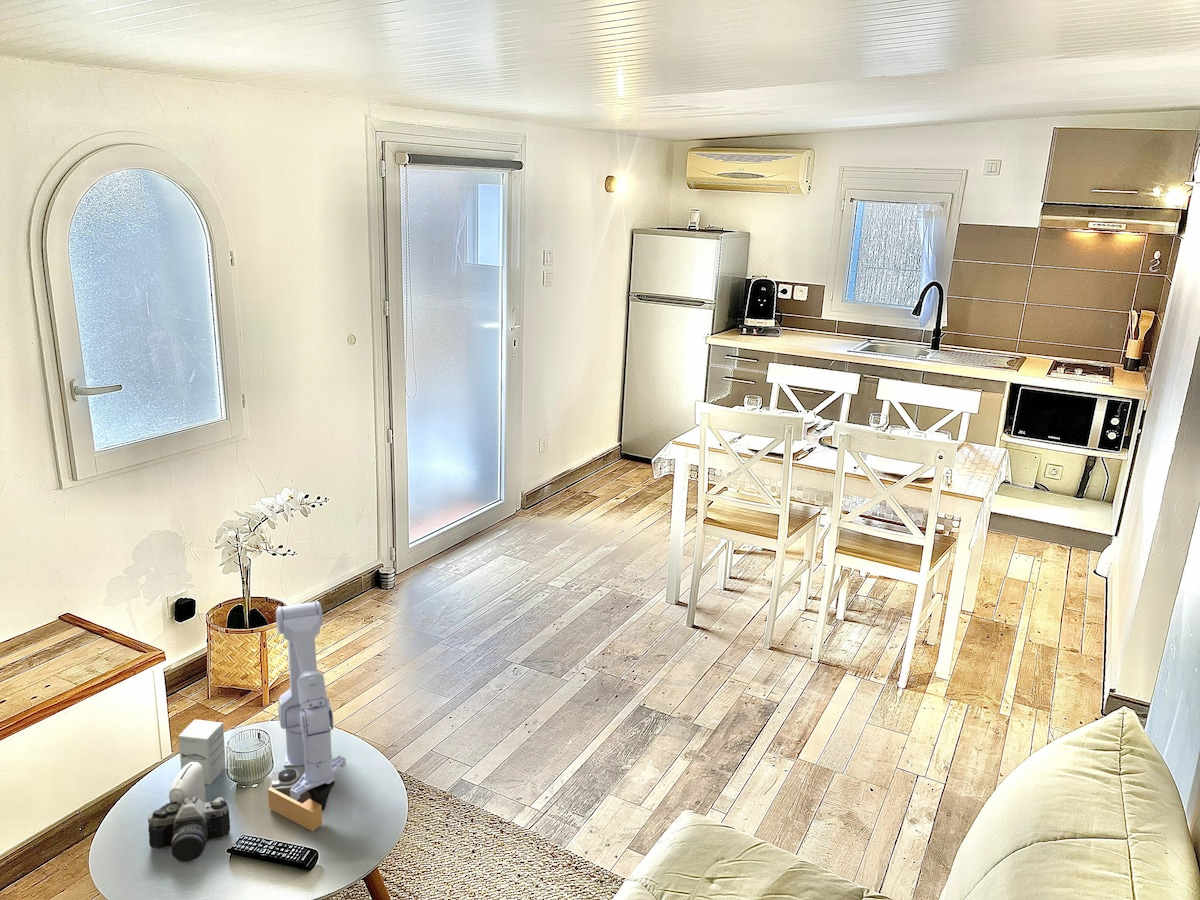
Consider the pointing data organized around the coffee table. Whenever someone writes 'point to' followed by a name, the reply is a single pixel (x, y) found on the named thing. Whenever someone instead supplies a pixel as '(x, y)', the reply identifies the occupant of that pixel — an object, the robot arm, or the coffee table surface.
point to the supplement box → (204, 747)
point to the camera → (188, 826)
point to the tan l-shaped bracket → (296, 809)
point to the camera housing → (288, 782)
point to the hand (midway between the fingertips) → (319, 808)
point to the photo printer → (188, 784)
